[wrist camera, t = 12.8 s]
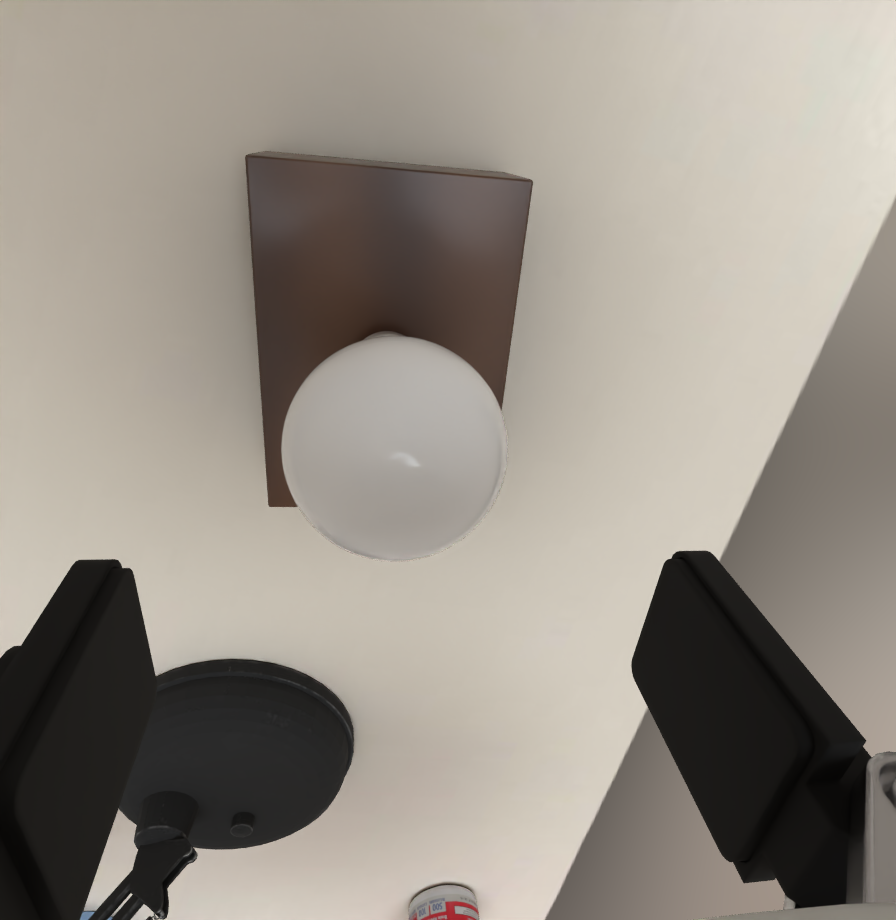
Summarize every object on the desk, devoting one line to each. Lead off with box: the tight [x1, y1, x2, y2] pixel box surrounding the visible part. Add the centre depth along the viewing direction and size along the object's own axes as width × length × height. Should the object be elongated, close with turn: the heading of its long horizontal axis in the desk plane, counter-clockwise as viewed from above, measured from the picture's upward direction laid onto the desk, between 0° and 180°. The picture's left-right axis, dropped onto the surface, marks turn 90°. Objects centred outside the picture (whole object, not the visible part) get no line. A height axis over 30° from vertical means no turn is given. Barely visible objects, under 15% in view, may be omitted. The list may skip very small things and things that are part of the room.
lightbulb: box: [281, 331, 508, 562], centre depth 19 cm, size 6×6×11 cm
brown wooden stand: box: [245, 151, 533, 507], centre depth 26 cm, size 10×14×5 cm
